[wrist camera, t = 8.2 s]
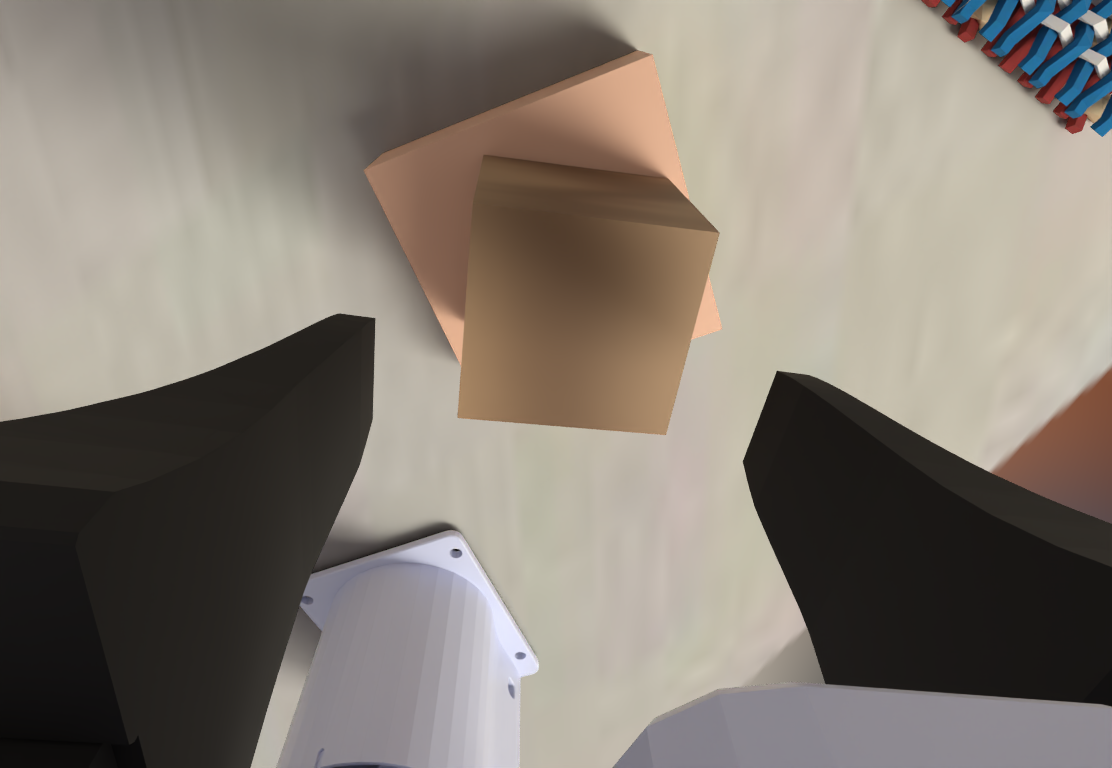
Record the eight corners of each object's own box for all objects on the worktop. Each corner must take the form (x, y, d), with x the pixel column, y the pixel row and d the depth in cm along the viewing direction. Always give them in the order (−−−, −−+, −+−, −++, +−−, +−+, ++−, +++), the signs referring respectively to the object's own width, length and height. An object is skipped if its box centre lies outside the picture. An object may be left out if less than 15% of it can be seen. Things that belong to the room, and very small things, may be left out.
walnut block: (668, 178, 17) (719, 232, 13) (632, 342, 20) (665, 434, 15) (483, 154, 17) (472, 202, 12) (470, 327, 19) (457, 417, 15)
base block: (699, 293, 22) (722, 329, 20) (488, 365, 23) (482, 408, 21) (635, 49, 18) (652, 54, 16) (385, 150, 20) (363, 170, 17)
